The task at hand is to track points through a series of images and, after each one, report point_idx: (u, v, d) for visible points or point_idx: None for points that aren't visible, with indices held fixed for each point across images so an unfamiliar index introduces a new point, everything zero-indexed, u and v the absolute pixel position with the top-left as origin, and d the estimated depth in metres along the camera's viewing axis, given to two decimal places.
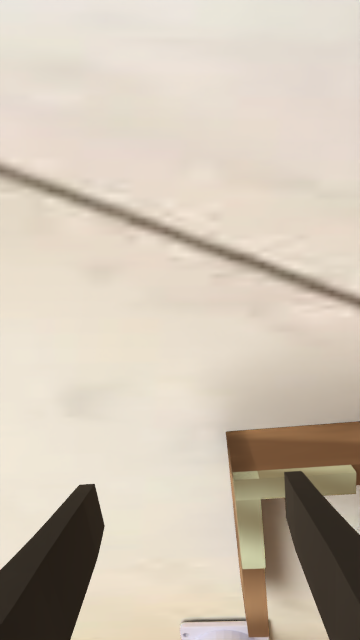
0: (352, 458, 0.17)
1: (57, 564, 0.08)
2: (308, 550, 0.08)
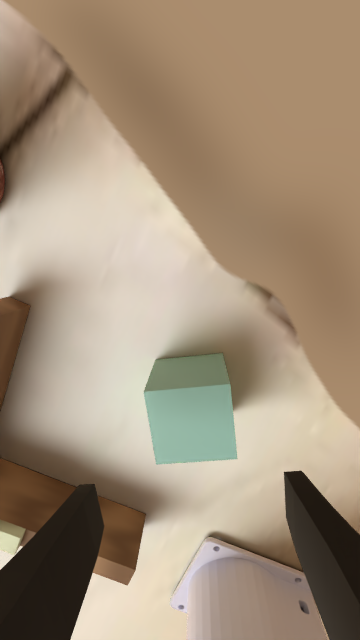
0: None
1: (57, 564, 0.08)
2: (308, 550, 0.08)
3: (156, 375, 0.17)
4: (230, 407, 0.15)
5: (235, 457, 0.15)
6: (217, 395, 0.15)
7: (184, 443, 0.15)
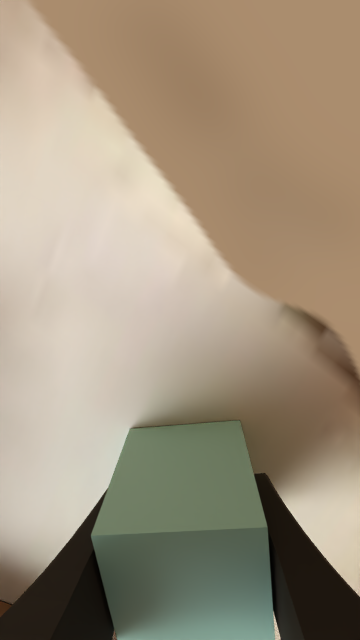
0: None
1: None
2: None
3: (123, 477, 0.09)
4: (265, 567, 0.07)
5: None
6: (241, 547, 0.07)
7: (173, 624, 0.08)
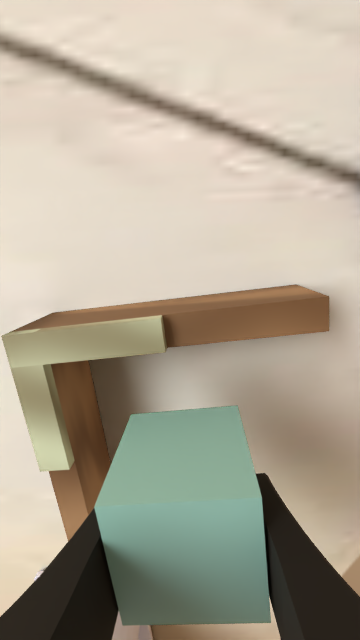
0: (171, 311, 0.13)
1: (100, 562, 0.08)
2: None
3: (125, 456, 0.10)
4: (260, 537, 0.08)
5: (267, 620, 0.08)
6: (236, 517, 0.08)
7: (172, 594, 0.08)
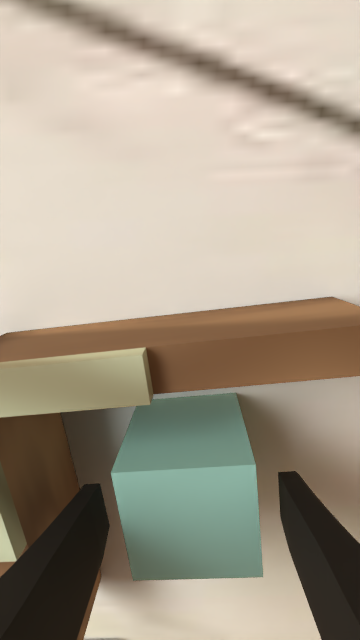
0: (159, 340, 0.09)
1: (64, 564, 0.08)
2: (301, 550, 0.08)
3: (135, 433, 0.11)
4: (254, 500, 0.09)
5: (260, 574, 0.10)
6: (233, 482, 0.09)
7: (177, 552, 0.10)
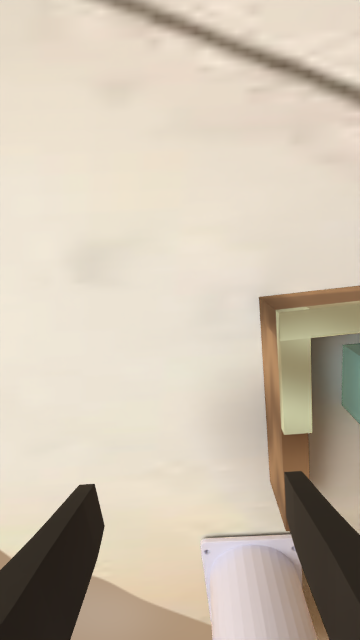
0: None
1: (57, 564, 0.08)
2: (308, 550, 0.08)
3: None
4: None
5: None
6: None
7: None
